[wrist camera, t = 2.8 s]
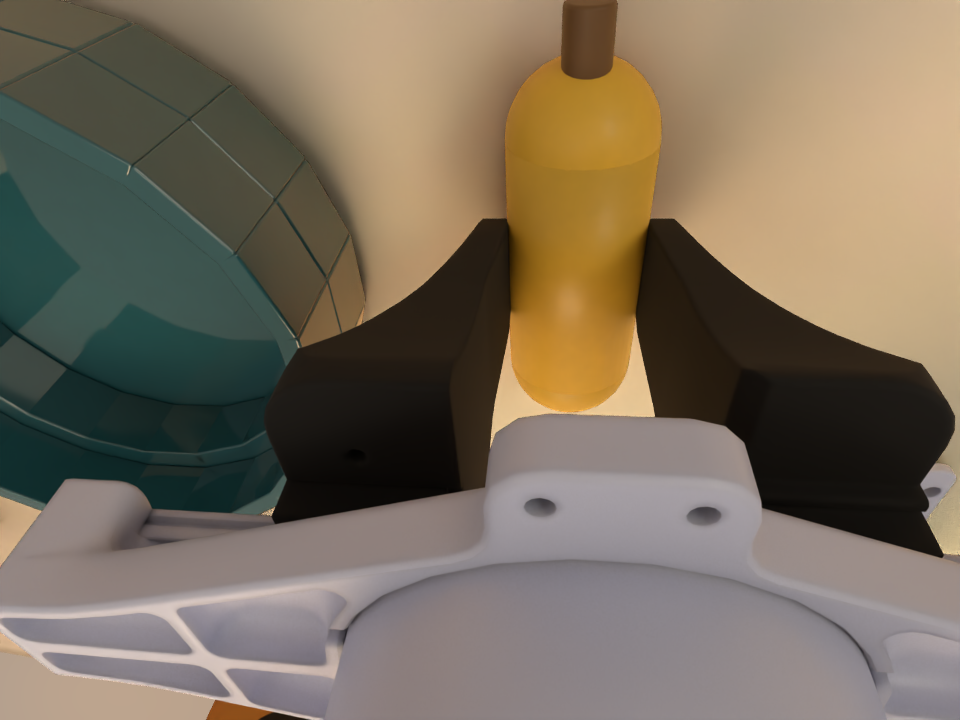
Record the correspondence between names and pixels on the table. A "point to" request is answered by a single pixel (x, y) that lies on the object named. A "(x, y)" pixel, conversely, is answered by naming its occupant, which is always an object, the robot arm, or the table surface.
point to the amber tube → (578, 212)
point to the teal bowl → (150, 267)
